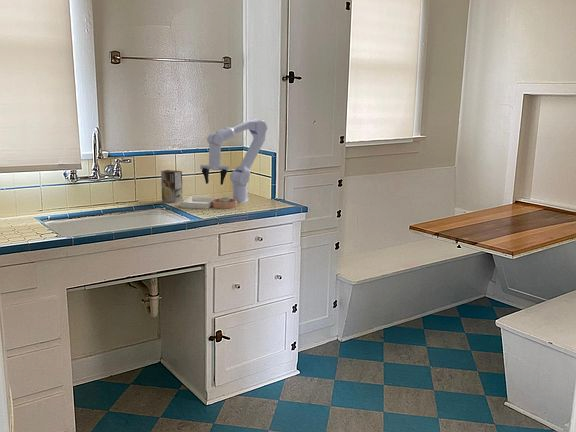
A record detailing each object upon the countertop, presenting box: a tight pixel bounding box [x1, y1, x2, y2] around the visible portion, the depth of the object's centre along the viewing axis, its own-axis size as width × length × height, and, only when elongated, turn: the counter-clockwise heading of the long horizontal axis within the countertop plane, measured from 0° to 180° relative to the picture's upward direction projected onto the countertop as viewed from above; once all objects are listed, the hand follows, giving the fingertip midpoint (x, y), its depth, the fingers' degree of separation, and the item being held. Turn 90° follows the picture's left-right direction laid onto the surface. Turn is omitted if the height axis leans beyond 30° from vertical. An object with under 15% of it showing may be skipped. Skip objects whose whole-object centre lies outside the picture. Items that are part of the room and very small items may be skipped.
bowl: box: [211, 197, 238, 210], centre depth 304 cm, size 12×12×4 cm
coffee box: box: [160, 169, 184, 203], centre depth 314 cm, size 9×6×16 cm
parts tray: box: [179, 195, 219, 210], centre depth 307 cm, size 18×14×3 cm
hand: (214, 183), depth 310 cm, fingers open, 7 cm apart
